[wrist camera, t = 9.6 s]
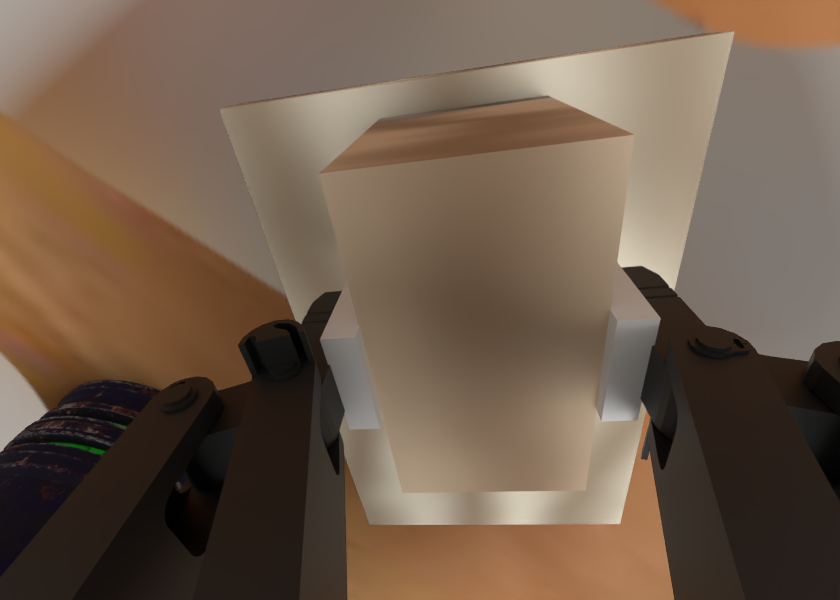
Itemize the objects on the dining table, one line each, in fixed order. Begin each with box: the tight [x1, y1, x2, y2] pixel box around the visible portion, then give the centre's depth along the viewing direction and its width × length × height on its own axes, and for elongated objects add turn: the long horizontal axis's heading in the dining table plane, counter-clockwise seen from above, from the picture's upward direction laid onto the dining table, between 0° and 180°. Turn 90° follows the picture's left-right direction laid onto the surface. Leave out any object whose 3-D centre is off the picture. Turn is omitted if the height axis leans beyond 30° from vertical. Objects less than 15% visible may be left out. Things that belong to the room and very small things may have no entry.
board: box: [219, 31, 735, 525], centre depth 18 cm, size 15×24×2 cm, turn 8°
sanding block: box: [319, 96, 635, 493], centre depth 11 cm, size 5×9×6 cm, turn 8°
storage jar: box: [0, 380, 187, 577], centre depth 18 cm, size 10×10×15 cm
